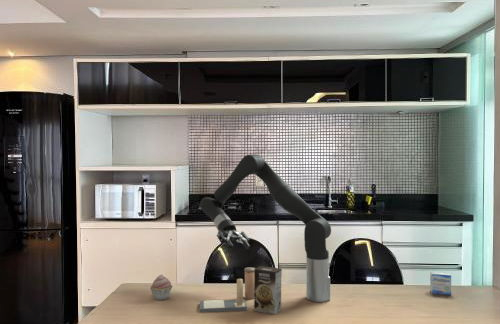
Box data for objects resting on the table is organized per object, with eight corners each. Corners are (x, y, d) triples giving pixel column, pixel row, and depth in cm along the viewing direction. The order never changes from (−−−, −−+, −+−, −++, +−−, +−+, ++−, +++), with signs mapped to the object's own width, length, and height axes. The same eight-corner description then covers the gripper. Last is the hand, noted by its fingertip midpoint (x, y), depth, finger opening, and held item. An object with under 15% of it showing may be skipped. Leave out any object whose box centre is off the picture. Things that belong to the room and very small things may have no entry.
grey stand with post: (244, 302, 162) (244, 274, 162) (246, 310, 153) (246, 281, 153) (199, 304, 160) (199, 276, 160) (199, 312, 151) (199, 282, 151)
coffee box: (253, 311, 153) (253, 268, 153) (260, 305, 158) (260, 265, 158) (275, 315, 148) (275, 271, 148) (281, 309, 154) (282, 268, 154)
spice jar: (254, 295, 171) (254, 267, 171) (256, 299, 166) (256, 269, 166) (243, 296, 170) (243, 267, 170) (245, 299, 165) (245, 270, 166)
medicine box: (431, 293, 174) (431, 273, 174) (430, 290, 178) (430, 271, 178) (451, 295, 172) (451, 275, 172) (449, 292, 176) (449, 272, 176)
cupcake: (174, 300, 164) (174, 276, 164) (151, 303, 161) (151, 278, 161) (170, 293, 173) (170, 270, 173) (148, 296, 170) (148, 272, 170)
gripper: (214, 218, 179) (229, 240, 167) (240, 219, 187) (256, 241, 175) (208, 231, 181) (223, 254, 169) (234, 232, 189) (250, 254, 177)
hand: (240, 247), depth 172 cm, fingers open, 8 cm apart
